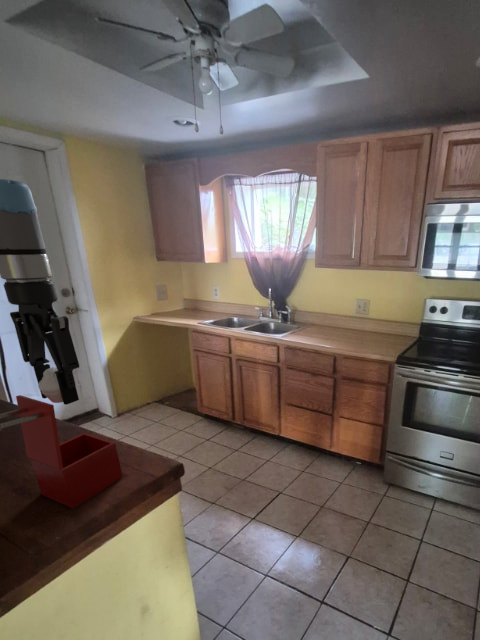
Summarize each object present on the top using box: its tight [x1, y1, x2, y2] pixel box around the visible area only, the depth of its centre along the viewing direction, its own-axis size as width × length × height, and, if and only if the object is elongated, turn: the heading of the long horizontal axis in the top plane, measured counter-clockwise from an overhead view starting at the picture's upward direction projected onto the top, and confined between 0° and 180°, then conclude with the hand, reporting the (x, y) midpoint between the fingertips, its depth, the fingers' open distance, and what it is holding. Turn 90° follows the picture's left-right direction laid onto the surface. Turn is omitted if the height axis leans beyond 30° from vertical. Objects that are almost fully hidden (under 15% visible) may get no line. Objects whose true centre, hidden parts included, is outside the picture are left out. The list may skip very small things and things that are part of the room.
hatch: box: [0, 394, 63, 470], centre depth 69 cm, size 13×10×10 cm
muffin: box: [37, 366, 63, 404], centre depth 74 cm, size 6×6×7 cm
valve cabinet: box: [29, 432, 124, 509], centre depth 82 cm, size 12×10×10 cm
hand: (60, 398), depth 75 cm, fingers closed on muffin, 6 cm apart
